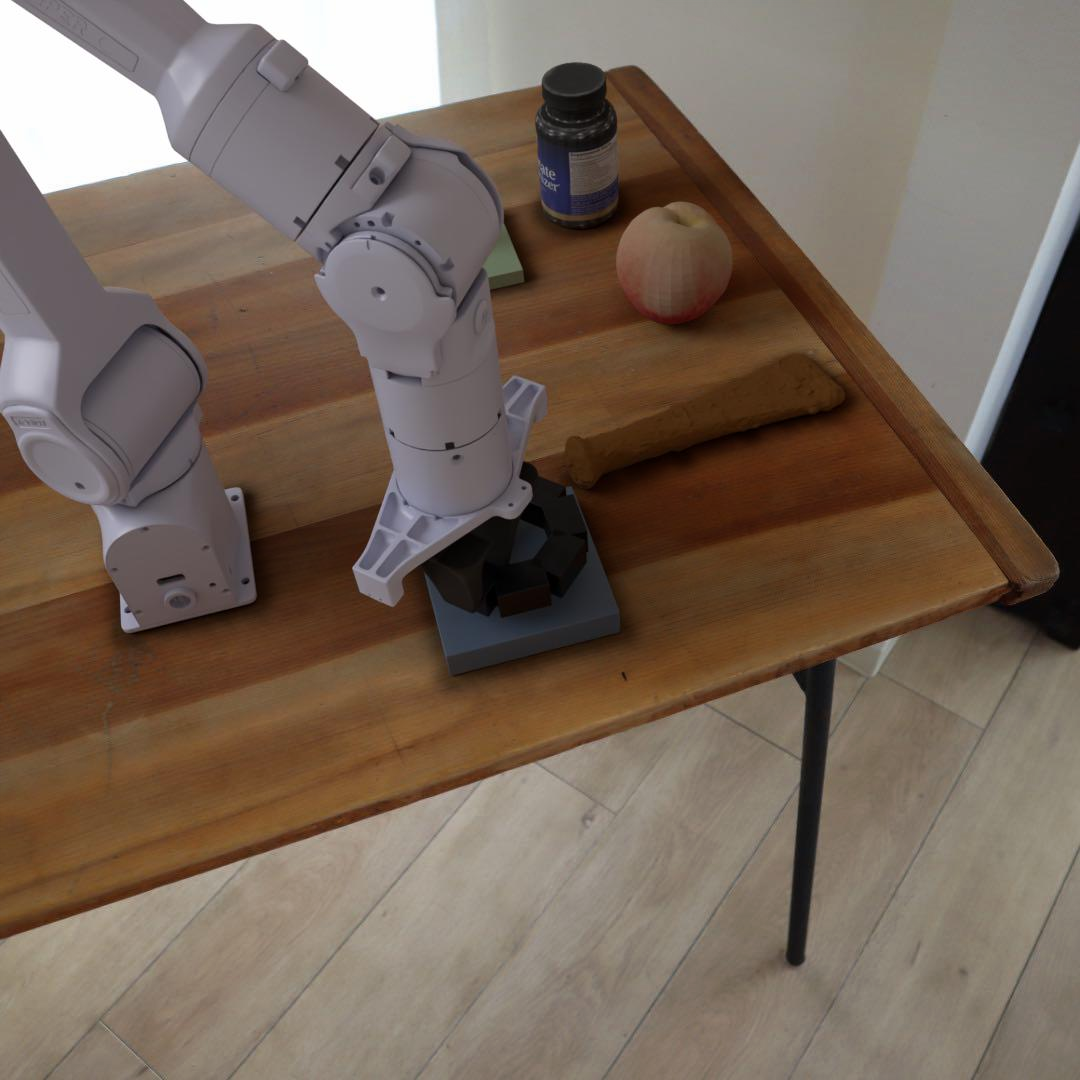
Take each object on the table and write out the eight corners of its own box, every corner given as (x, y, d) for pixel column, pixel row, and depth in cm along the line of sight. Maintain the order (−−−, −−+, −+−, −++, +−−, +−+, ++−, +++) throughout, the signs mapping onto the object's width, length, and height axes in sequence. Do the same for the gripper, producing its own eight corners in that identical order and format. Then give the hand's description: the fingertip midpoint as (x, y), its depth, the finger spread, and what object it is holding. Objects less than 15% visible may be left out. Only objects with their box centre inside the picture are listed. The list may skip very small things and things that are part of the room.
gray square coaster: (620, 632, 67) (620, 612, 66) (450, 676, 66) (445, 657, 65) (573, 506, 73) (571, 485, 72) (417, 545, 72) (412, 524, 71)
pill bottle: (532, 196, 95) (520, 67, 86) (604, 178, 96) (599, 48, 87) (556, 239, 91) (546, 108, 82) (630, 220, 92) (628, 89, 83)
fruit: (751, 320, 83) (759, 225, 77) (651, 359, 81) (651, 265, 75) (694, 260, 88) (697, 166, 82) (599, 295, 86) (594, 202, 80)
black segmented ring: (603, 592, 65) (602, 570, 63) (448, 632, 64) (443, 610, 62) (561, 479, 70) (559, 456, 69) (418, 514, 69) (412, 492, 68)
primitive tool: (800, 355, 81) (806, 316, 78) (851, 403, 77) (859, 363, 75) (556, 468, 76) (552, 429, 73) (599, 523, 72) (597, 485, 70)
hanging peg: (524, 282, 88) (517, 212, 83) (406, 308, 87) (392, 239, 82) (496, 214, 94) (488, 145, 89) (386, 238, 93) (371, 169, 88)
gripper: (427, 546, 49) (465, 715, 60) (594, 337, 57) (602, 519, 67) (294, 489, 52) (353, 660, 62) (471, 296, 59) (497, 478, 70)
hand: (475, 584), depth 65 cm, fingers closed on black segmented ring, 2 cm apart
